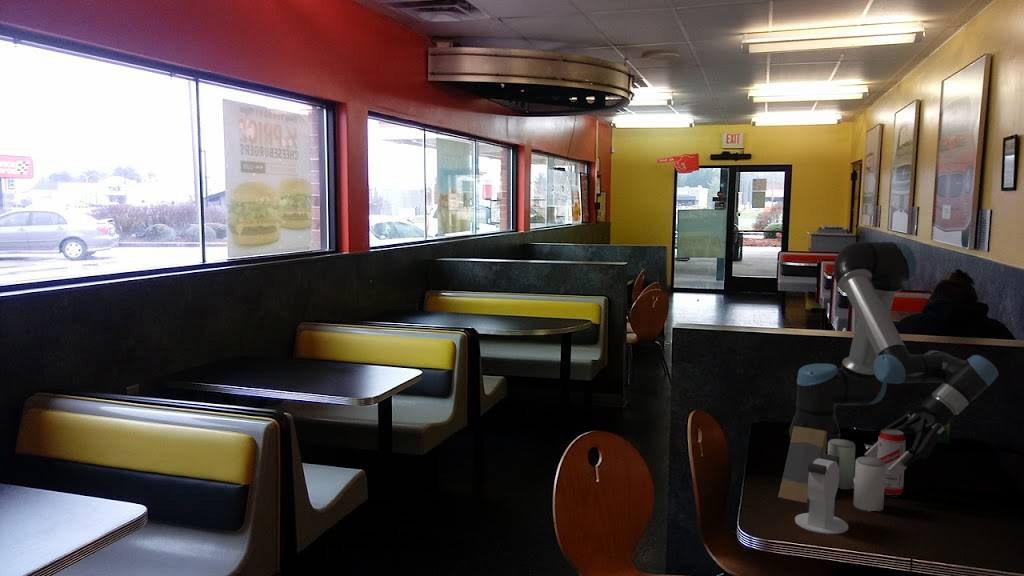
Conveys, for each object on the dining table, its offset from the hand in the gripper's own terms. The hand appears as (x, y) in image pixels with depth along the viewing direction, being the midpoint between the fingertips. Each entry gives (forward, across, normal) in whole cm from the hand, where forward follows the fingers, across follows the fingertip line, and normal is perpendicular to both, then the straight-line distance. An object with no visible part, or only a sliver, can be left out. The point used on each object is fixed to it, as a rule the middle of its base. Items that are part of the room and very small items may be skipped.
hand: (879, 465), depth 193 cm
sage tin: (+10, +6, 0) cm, 12 cm away
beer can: (+3, 0, -7) cm, 8 cm away
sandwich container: (+19, +2, +8) cm, 21 cm away
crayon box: (-26, +46, -36) cm, 64 cm away
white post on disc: (+22, -19, +11) cm, 31 cm away
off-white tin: (+10, -9, 0) cm, 14 cm away
